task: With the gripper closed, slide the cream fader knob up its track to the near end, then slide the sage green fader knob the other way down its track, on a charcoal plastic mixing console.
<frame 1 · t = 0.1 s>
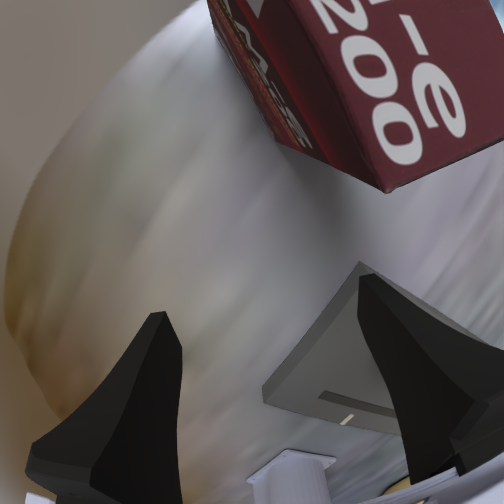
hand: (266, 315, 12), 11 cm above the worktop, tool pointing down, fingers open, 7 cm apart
mixer console: (412, 375, 28), on the worktop
sculpture: (407, 480, 40), on the worktop
supplement box: (275, 72, 18), on the worktop
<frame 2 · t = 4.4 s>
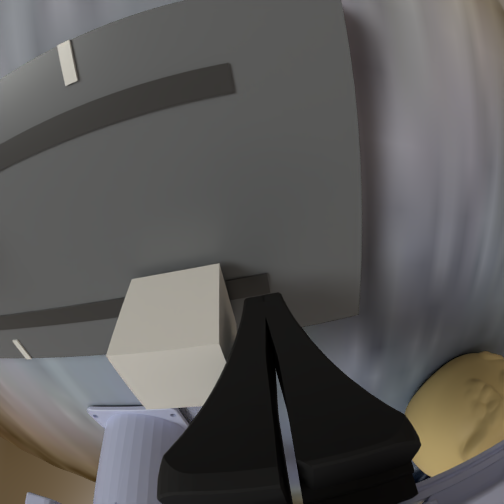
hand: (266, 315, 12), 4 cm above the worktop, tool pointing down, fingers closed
mixer console: (44, 224, 13), on the worktop
sculpture: (447, 376, 24), on the worktop
cream fader: (181, 335, 11), point 4 cm above the worktop, slide at 1.5 cm, touching gripper
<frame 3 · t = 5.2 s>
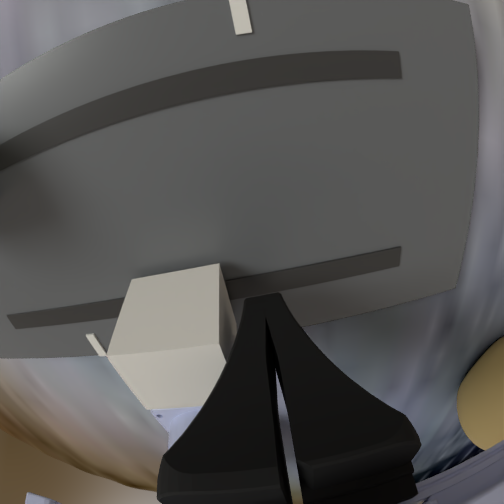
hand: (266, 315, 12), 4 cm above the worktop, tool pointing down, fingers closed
mixer console: (151, 194, 13), on the worktop
sculpture: (491, 356, 23), on the worktop
cream fader: (181, 335, 11), point 4 cm above the worktop, slide at 7.4 cm, touching gripper
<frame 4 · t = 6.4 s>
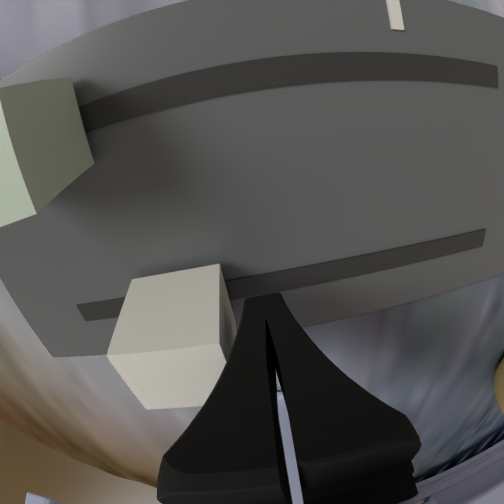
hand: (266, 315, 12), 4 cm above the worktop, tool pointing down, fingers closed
sage fader: (12, 151, 7), point 4 cm above the worktop, slide at 0.0 cm
mixer console: (276, 169, 13), on the worktop
cream fader: (181, 335, 11), point 4 cm above the worktop, slide at 12.6 cm, touching gripper
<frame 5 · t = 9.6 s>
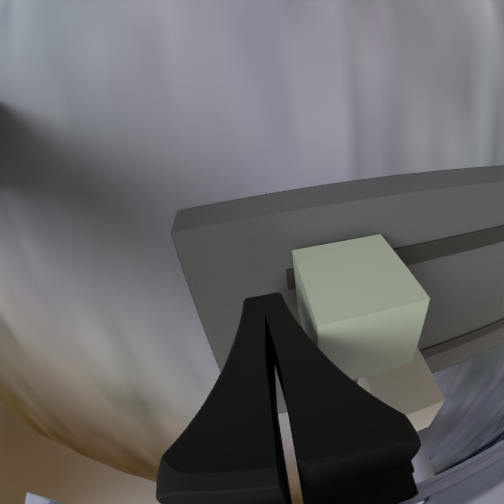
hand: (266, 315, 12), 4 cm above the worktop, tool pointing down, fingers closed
sage fader: (352, 305, 11), point 4 cm above the worktop, slide at 0.1 cm, touching gripper
mixer console: (445, 279, 17), on the worktop
cream fader: (396, 395, 15), point 4 cm above the worktop, slide at 12.7 cm
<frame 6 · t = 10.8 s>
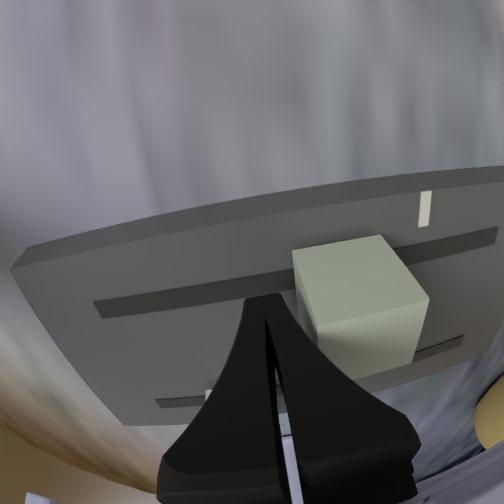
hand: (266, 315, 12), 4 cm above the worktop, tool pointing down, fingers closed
sage fader: (352, 305, 11), point 4 cm above the worktop, slide at 8.7 cm, touching gripper
mixer console: (312, 310, 17), on the worktop
sculpture: (501, 381, 28), on the worktop
cream fader: (245, 428, 15), point 4 cm above the worktop, slide at 12.7 cm
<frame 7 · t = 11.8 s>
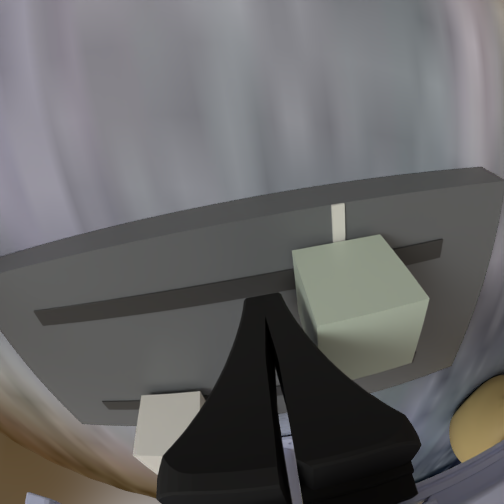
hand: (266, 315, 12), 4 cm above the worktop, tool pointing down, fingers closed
sage fader: (352, 305, 11), point 4 cm above the worktop, slide at 12.6 cm, touching gripper
mixer console: (241, 324, 17), on the worktop
sculpture: (480, 392, 28), on the worktop
cream fader: (177, 433, 16), point 4 cm above the worktop, slide at 12.7 cm
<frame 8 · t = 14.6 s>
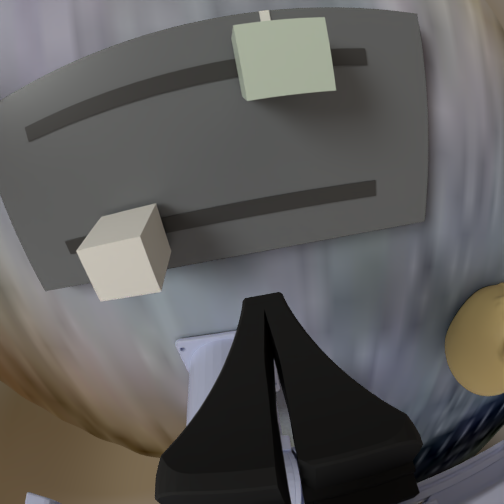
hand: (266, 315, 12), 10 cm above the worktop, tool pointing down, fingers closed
sage fader: (278, 59, 12), point 4 cm above the worktop, slide at 12.7 cm
mixer console: (199, 142, 18), on the worktop
sculpture: (474, 310, 29), on the worktop
cream fader: (128, 249, 17), point 4 cm above the worktop, slide at 12.7 cm
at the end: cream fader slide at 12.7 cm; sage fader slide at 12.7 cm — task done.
